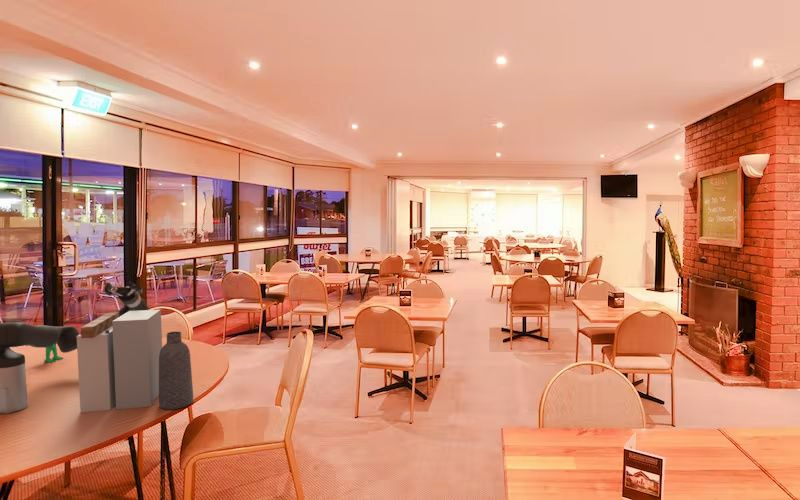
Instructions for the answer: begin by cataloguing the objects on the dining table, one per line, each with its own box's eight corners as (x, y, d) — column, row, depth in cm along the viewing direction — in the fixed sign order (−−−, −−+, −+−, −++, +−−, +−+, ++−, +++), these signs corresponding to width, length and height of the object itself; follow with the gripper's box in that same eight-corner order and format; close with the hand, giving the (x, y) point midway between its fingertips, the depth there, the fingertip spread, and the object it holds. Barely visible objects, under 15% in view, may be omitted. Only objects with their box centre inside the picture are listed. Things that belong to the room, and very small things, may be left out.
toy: (34, 368, 228) (32, 338, 227) (23, 367, 229) (21, 337, 228) (80, 353, 253) (79, 325, 252) (70, 352, 254) (68, 325, 253)
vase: (177, 396, 192) (174, 328, 190) (200, 400, 187) (198, 330, 185) (151, 407, 181) (148, 335, 179) (175, 412, 176) (172, 338, 174)
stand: (150, 406, 182) (147, 319, 179) (80, 412, 176) (75, 322, 174) (163, 388, 201) (160, 309, 199) (100, 393, 196) (97, 312, 193)
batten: (93, 337, 172) (93, 326, 172) (81, 338, 171) (80, 327, 171) (119, 321, 199) (119, 311, 199) (109, 321, 198) (108, 312, 198)
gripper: (113, 290, 219) (101, 276, 205) (147, 289, 222) (137, 275, 208) (111, 305, 216) (99, 292, 201) (145, 304, 219) (135, 291, 205)
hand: (118, 284), depth 205 cm, fingers open, 8 cm apart
